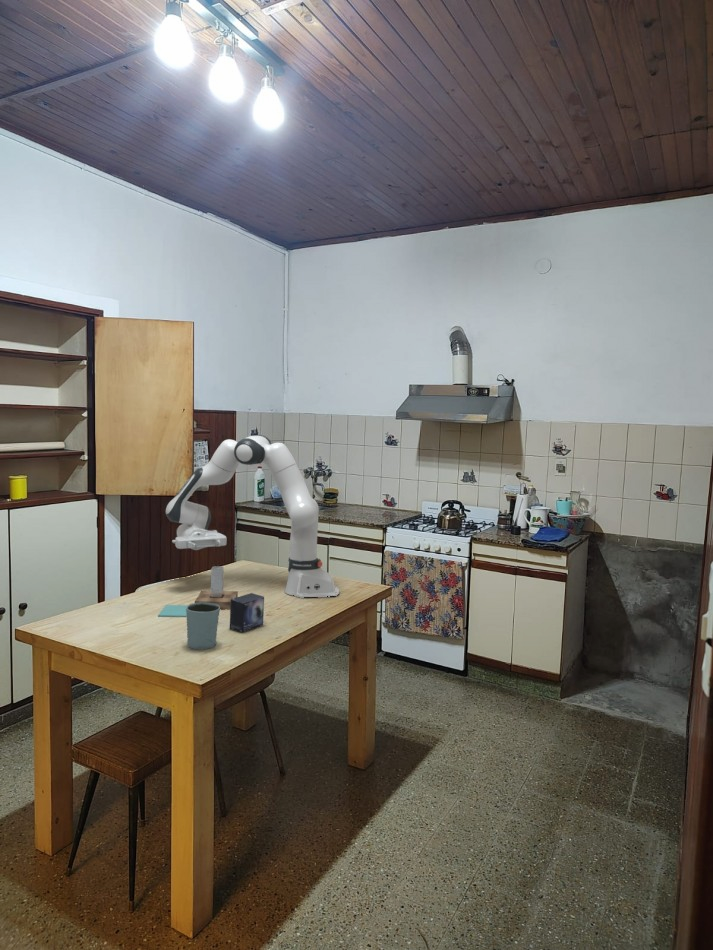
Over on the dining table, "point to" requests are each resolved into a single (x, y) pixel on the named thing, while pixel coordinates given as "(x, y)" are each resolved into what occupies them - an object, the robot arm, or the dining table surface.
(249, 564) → the dining table surface
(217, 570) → the metal bar
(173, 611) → the mat
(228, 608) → the socket block
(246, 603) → the small box
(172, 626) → the dining table surface
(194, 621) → the grey-green cup
